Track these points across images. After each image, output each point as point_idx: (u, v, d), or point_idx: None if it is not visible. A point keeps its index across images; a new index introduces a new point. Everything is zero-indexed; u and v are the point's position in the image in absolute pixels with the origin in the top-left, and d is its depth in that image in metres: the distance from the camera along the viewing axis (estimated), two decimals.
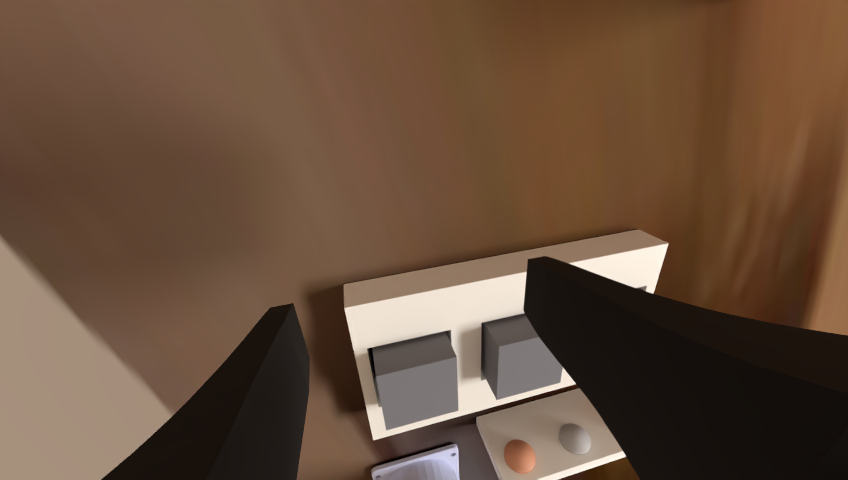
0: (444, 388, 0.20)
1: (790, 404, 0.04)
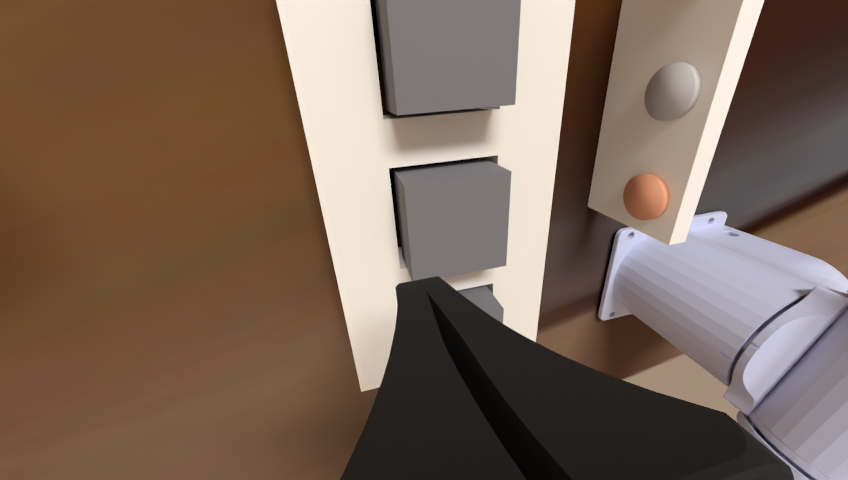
0: None
1: None
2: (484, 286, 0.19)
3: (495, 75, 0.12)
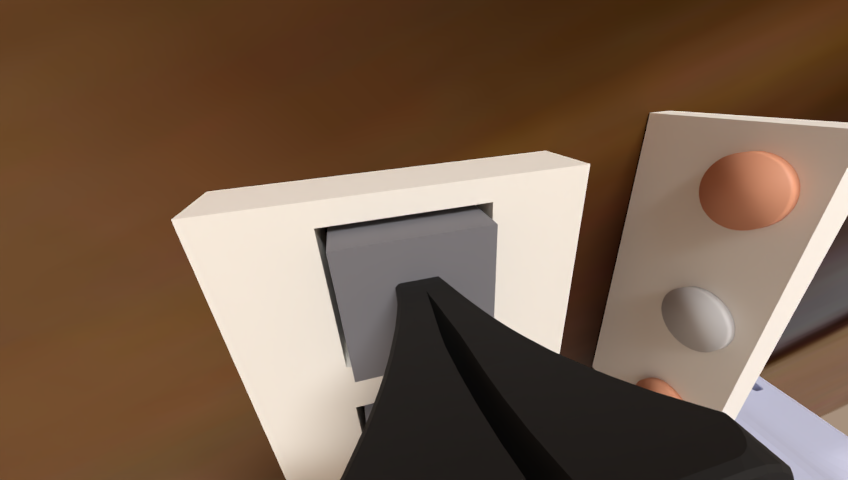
0: None
1: None
2: None
3: None
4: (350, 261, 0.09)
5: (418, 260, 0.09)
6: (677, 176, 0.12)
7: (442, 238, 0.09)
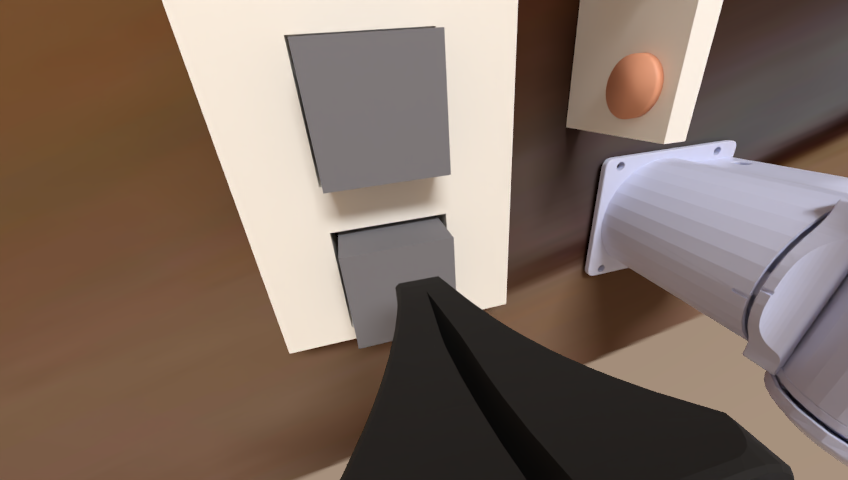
0: (400, 265, 0.14)
1: None
2: (436, 218, 0.16)
3: None
4: None
5: None
6: None
7: None
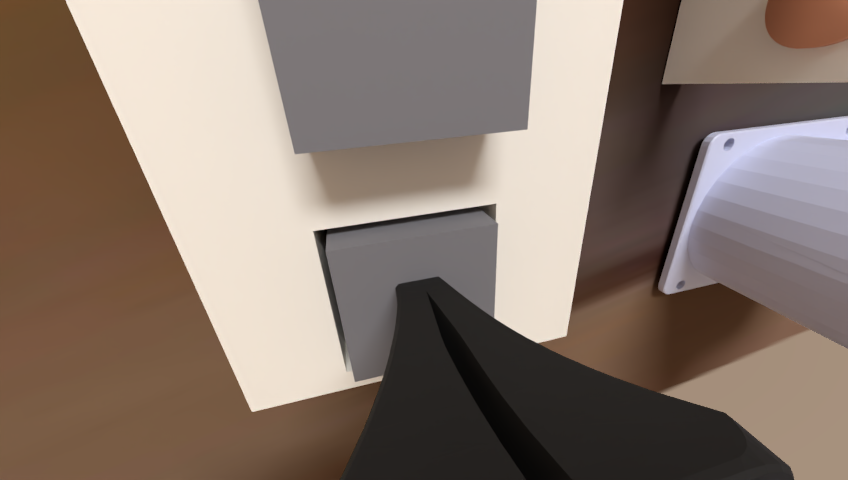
0: (419, 263, 0.09)
1: None
2: None
3: None
4: None
5: None
6: None
7: None
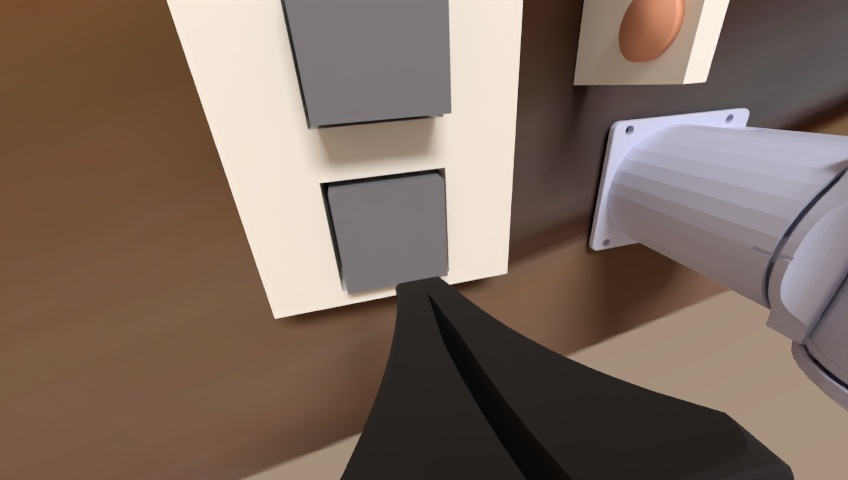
0: (390, 205, 0.14)
1: None
2: None
3: None
4: None
5: None
6: None
7: None
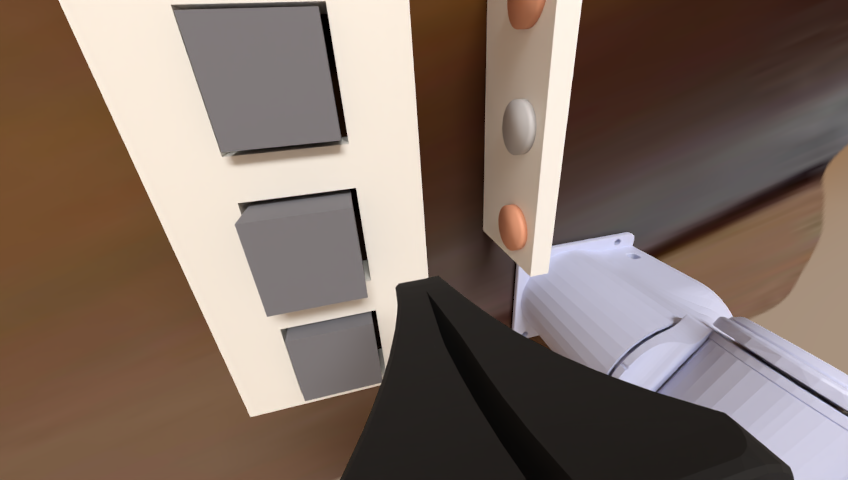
0: (333, 343, 0.18)
1: None
2: None
3: (314, 115, 0.13)
4: (196, 23, 0.11)
5: (255, 31, 0.12)
6: (503, 9, 0.15)
7: (272, 13, 0.12)
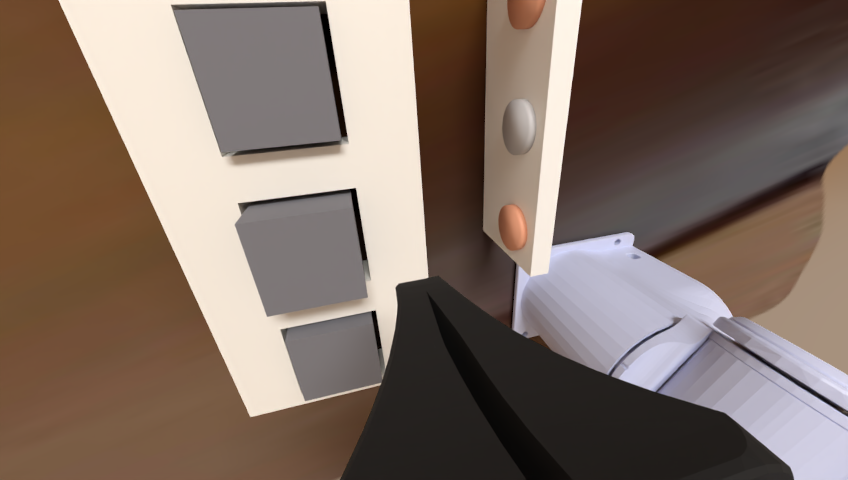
0: (333, 343, 0.18)
1: None
2: None
3: (314, 115, 0.13)
4: (196, 23, 0.11)
5: (255, 31, 0.12)
6: (503, 9, 0.15)
7: (272, 13, 0.12)
